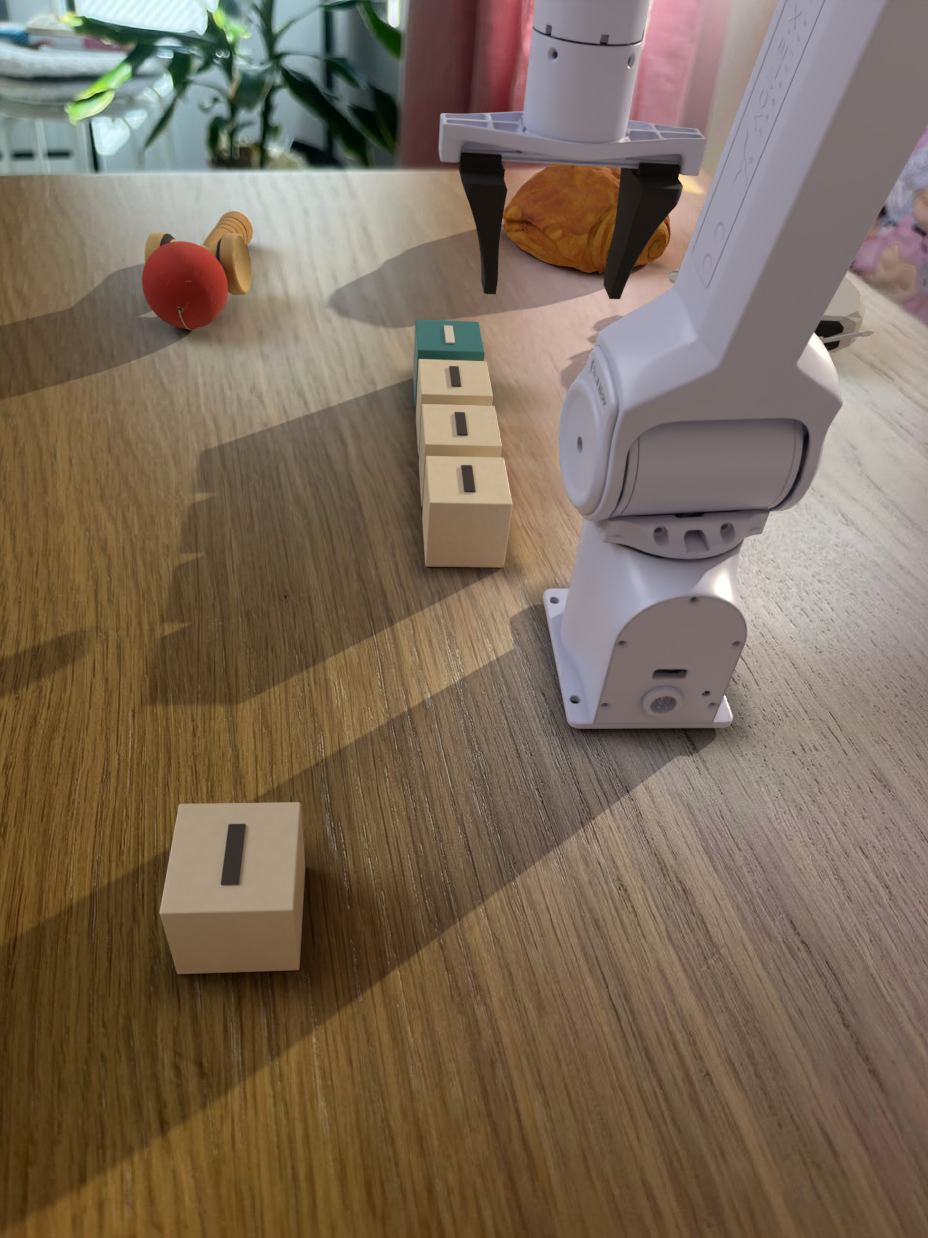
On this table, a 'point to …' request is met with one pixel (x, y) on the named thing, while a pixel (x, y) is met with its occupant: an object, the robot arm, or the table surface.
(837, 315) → the robot toy
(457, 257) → the table surface
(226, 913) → the beige slotted box
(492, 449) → the tan wooden cube
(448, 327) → the teal cube
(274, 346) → the table surface
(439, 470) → the beige cube
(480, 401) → the cream cube block
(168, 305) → the kendama
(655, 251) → the croissant
